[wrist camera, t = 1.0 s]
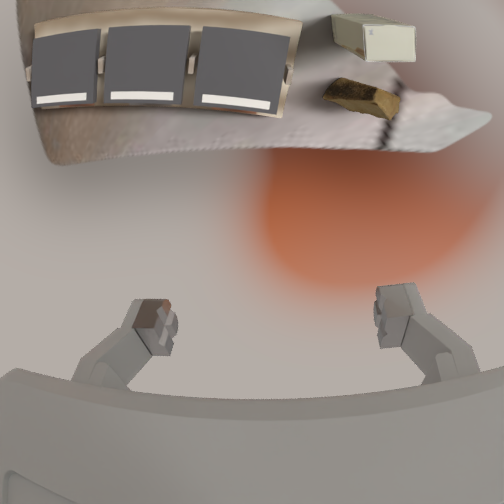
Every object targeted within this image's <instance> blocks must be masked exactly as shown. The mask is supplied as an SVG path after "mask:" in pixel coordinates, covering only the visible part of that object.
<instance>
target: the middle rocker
mask: <svg viewBox="0 0 504 504" xmlns="http://www.w3.org/2000/svg"><path fill="white" fill-rule="evenodd" d="M190 33H191V26H190V25H138V26H120V27H109V30H108V39H107V50H106V63H105V79H104V103H155V104H178V105H181V104H182V101H183V91H184V81H185V72H186V64H187V55H188V47H189V40H190Z"/></svg>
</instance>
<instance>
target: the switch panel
mask: <svg viewBox="0 0 504 504" xmlns="http://www.w3.org/2000/svg"><path fill="white" fill-rule="evenodd" d="M138 25H190V26H191V33H190V40H189V47H188V55H187V64H186V72H185V81H184V91H183V101H182V104H181V105H178V104H155V103H104V79H105V63H106V50H107V39H108V30H109V27H120V26H138ZM302 25H303V22H301V21H299V20H294V19H289V18H284V17H278V16H272V15H266V14H259V13H252V12H243V11H234V10H224V9H210V8H189V7H153V8H131V9H118V10H108V11H99V12H91V13H84V14H78V15H72V16H66V17H60V18H55V19H51V20H46V21H43V22H40V23H37V24H35V38H40V37H45V36H50V35H55V34H61V33H67V32H74V31H81V30H89V29H97V28H98V29H101V38H100V49H99V59H98V79H97V102H96V103H93V104H74V105H59V106H47V107H41V108H42V109H51V108H65V107H83V106H164V107H184V108H198V109H210V110H221V111H231V112H240V113H248V114H256V115H263V116H270V117H277V118H282V114H283V110H284V105H285V101H286V96H287V92H288V87H289V85H291V80H292V76H293V71H294V70H293V65H294V60H295V56H296V52H297V47H298V43H299V38H300V34H301V29H302ZM203 26H209V27H222V28H233V29H242V30H250V31H257V32H264V33H271V34H277V35H283V36H288V37H290V42H289V48H288V53H287V59H286V65H285V70H284V76H283V82H282V87H281V93H280V98H279V104H278V110H277V115H275V114H268V113H261V112H253V111H245V110H237V109H228V108H218V107H207V106H194V105H193V102H194V92H195V83H196V75H197V67H198V59H199V51H200V44H201V37H202V30H203ZM26 77H27V81H31V78H32V65H31V66H29V67H27V68H26Z"/></svg>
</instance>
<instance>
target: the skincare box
mask: <svg viewBox="0 0 504 504" xmlns="http://www.w3.org/2000/svg"><path fill="white" fill-rule="evenodd" d="M331 20H332V30H333V37H334V42H335V43H337V44H339V45H340V46H342V47H344V48H345V49H347V50H349V51H351V52H352V53H354V54H355V55H357V56H359V57H360V58H362V59H363V60H365V61H367V62H415V61H416V28H415V27H414V26H411V25H408V24H405V23H402V22H398V21H395V20H391V19H388V18H384V17H380V16H377V15H373V14H335V15H331Z"/></svg>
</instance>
